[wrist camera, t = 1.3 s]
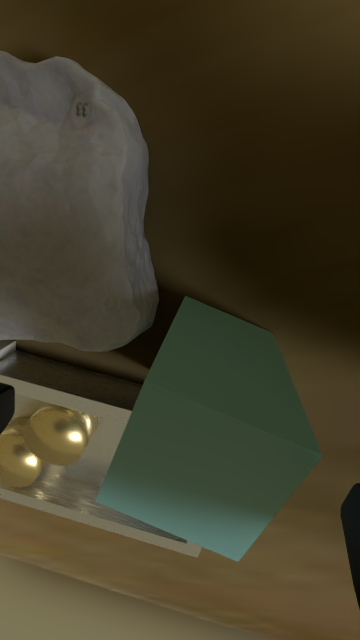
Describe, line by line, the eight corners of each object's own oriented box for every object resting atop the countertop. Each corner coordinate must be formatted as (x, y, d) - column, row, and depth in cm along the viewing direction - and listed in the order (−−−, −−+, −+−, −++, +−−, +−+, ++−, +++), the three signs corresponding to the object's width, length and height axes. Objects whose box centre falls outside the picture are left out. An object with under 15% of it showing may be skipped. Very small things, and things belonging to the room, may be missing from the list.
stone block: (-83, 114, 14) (-63, 324, 15) (-237, 28, 9) (-187, 345, 10) (167, 108, 13) (162, 335, 14) (142, 7, 8) (138, 365, 9)
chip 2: (101, 400, 15) (86, 424, 13) (95, 445, 16) (80, 472, 14) (45, 385, 15) (23, 407, 13) (43, 430, 16) (22, 455, 14)
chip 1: (57, 426, 16) (37, 451, 14) (54, 466, 17) (36, 494, 15) (6, 411, 16) (-20, 434, 14) (6, 452, 17) (-18, 478, 15)
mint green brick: (272, 332, 13) (322, 455, 6) (231, 404, 14) (238, 562, 8) (185, 295, 13) (144, 380, 6) (153, 371, 14) (94, 501, 8)
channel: (239, 410, 14) (241, 441, 12) (200, 518, 17) (197, 557, 15) (12, 349, 15) (-20, 369, 13) (11, 463, 18) (-14, 493, 16)
